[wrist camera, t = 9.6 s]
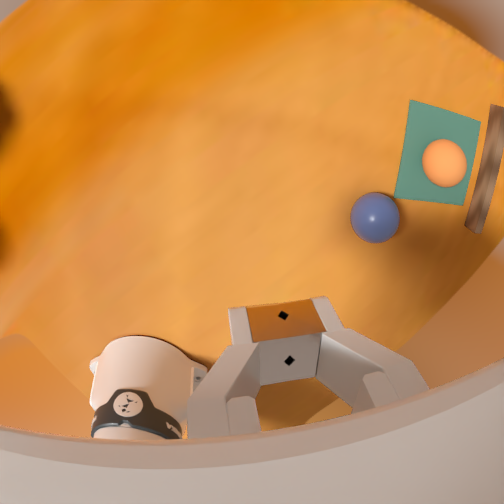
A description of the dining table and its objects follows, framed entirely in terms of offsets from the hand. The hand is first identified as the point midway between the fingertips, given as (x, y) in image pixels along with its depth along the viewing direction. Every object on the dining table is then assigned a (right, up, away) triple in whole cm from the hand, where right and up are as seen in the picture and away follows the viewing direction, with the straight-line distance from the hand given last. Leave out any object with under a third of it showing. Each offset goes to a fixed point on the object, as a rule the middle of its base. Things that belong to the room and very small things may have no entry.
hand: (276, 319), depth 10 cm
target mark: (+23, +14, +24) cm, 36 cm away
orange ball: (+21, +12, +22) cm, 33 cm away
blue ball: (+13, +6, +24) cm, 28 cm away
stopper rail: (+31, +14, +25) cm, 42 cm away
